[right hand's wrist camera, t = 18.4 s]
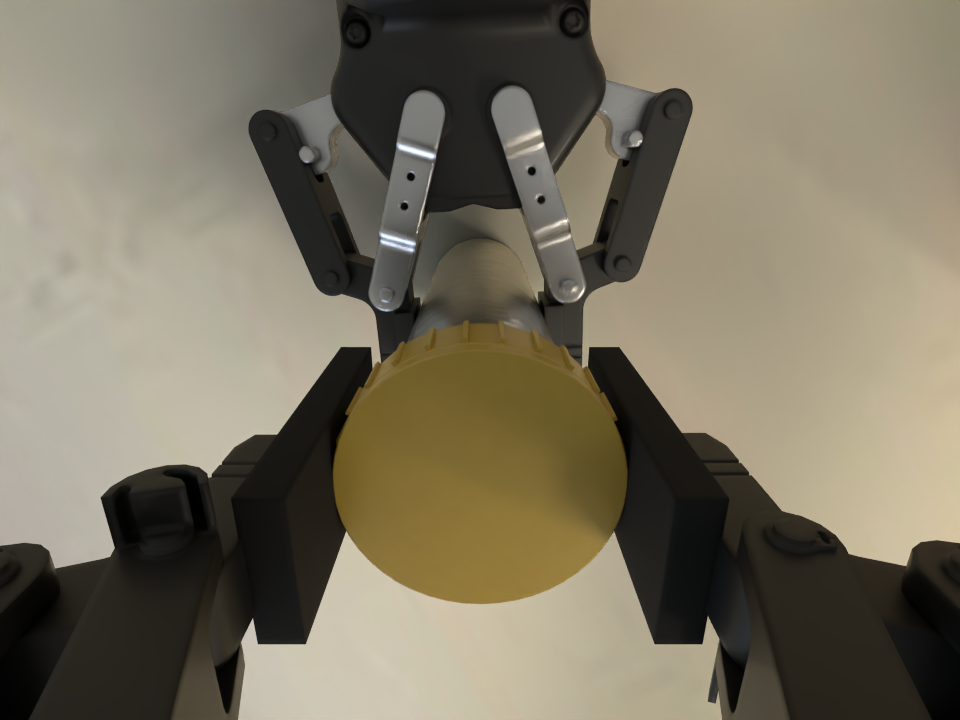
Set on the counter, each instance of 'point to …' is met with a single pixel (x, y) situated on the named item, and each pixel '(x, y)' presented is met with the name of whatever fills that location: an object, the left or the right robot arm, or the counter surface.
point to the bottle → (480, 291)
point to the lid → (480, 465)
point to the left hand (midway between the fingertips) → (482, 393)
